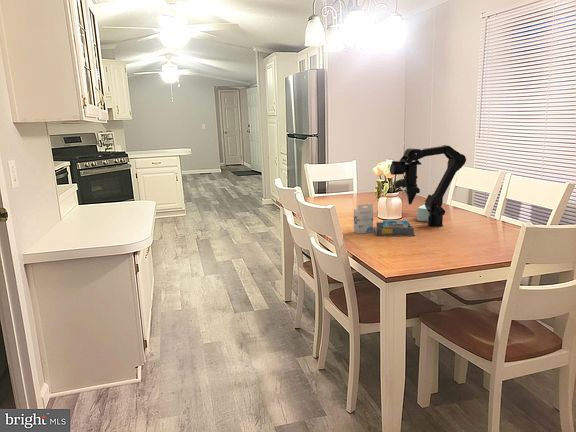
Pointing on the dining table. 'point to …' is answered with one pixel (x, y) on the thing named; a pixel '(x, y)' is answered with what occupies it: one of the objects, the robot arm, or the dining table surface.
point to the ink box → (363, 219)
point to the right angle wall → (422, 213)
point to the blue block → (394, 224)
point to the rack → (394, 231)
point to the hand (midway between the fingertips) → (409, 204)
